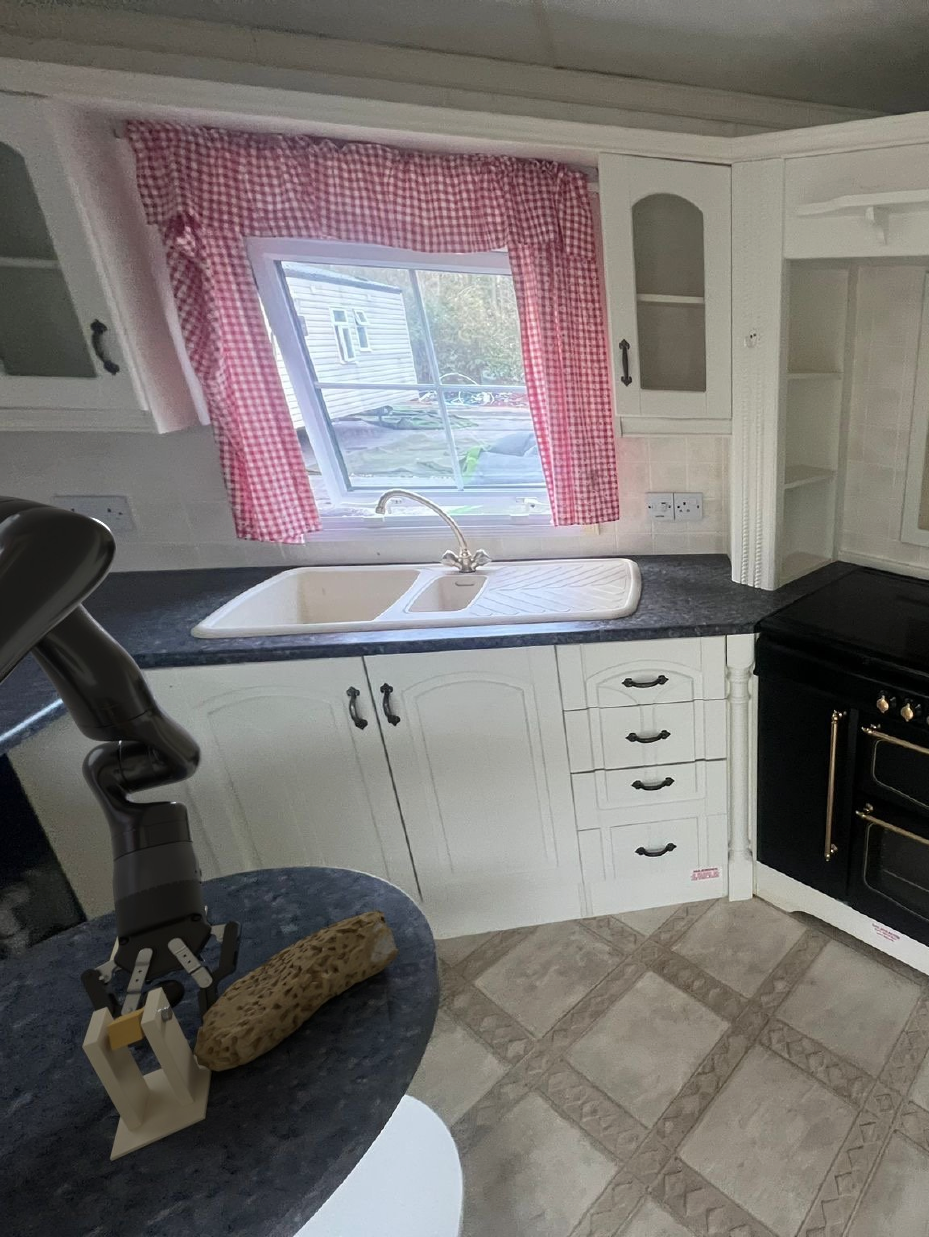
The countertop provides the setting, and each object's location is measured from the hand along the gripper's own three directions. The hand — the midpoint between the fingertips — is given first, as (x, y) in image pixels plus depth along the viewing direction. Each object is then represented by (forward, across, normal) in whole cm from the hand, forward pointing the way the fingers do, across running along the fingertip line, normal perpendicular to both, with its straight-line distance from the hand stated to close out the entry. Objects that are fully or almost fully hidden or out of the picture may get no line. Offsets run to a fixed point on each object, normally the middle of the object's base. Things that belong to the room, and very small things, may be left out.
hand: (176, 1034), depth 76 cm
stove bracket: (+7, 0, -4) cm, 8 cm away
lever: (-1, 0, -7) cm, 7 cm away
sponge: (+2, +12, 0) cm, 12 cm away
